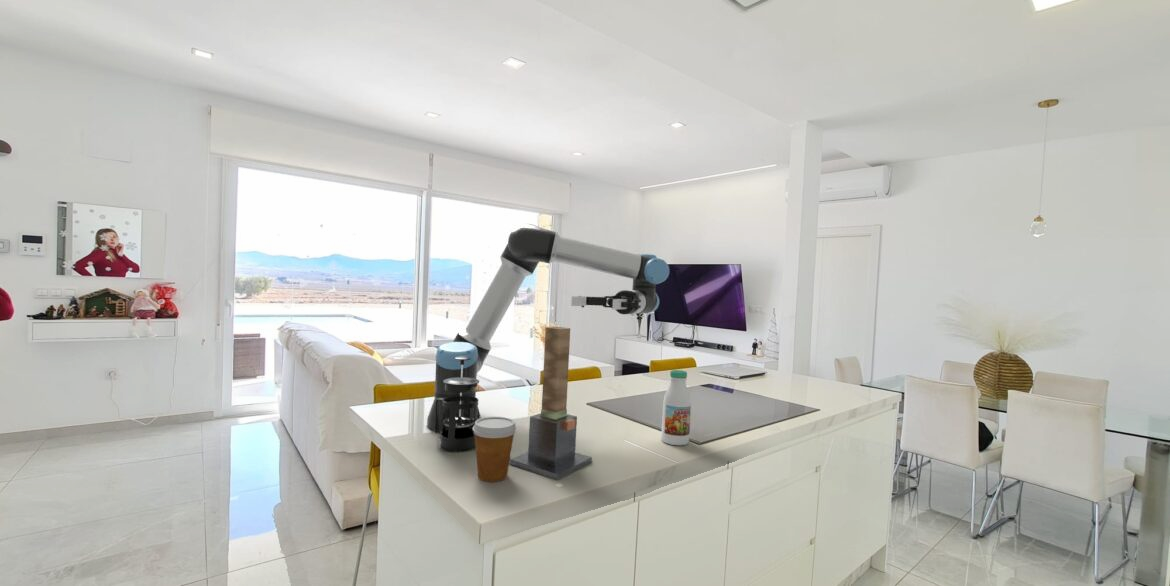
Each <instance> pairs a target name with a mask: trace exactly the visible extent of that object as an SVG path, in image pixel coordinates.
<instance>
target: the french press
mask: <svg viewBox="0 0 1170 586" xmlns="http://www.w3.org/2000/svg"><path fill="white" fill-rule="evenodd" d="M454 359H456V360H460V365H461V377H457V378H449V379H445V380H444V381H443V383H445V390H446V391H448V392H455V393H460V396H450V397H446V398H438V399H436V413H435V430H434V434H440V443H439V449H440V450H442V451H444V452H449V453H464V452H469V451H472V450H476V446H475V434H474V431H473V429H470V427H471V426H474V425H475V421H477V414H478V409H479V398H477V396H476V397H472V396H462V393H464V392H467V391H469V390H470V389H471V388H472V387H476V388H477V386H478V384H479V383H480V379H478V378H476V379H474V378H466V377H462V373H463V365H464V360H470V359H471V358H469V357H464V356H460V357H455V358H454ZM440 401H442V406H443V414H442V430H439V416H440ZM451 401H460V404H451V403H447V402H451ZM461 401H464V404H461ZM471 402H473V403H471ZM446 408H449V418H447V419H446ZM470 408H474V419H473V418H470ZM456 409H460V410H459V417H456ZM461 409H464V417H461ZM446 427H449V429H448V430H446Z"/></svg>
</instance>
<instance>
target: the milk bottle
mask: <svg viewBox="0 0 1170 586" xmlns="http://www.w3.org/2000/svg"><path fill="white" fill-rule="evenodd" d="M687 377H688V372H687V371H685V370H682V369H681V370H680V369H672V370H670V374H669V378H670V382H669V386H668V387H667V390H666V391H665V393H664V396H663V402H662V414H661V415H662V417H661V418H662V419H661V435H660V437H661V438H660V439H661V441H662V442H663V443H665V444H667V445H672V446H686V445H688V444H689V441H690V429H691V413H692V412H691V410H692V409H691V408H692V407H691V406H692V403H691V402H692V401H691V397H690V396H691V395H690V393H689V390H688V387H687V382H686V381H687V380H688V379H687Z"/></svg>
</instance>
